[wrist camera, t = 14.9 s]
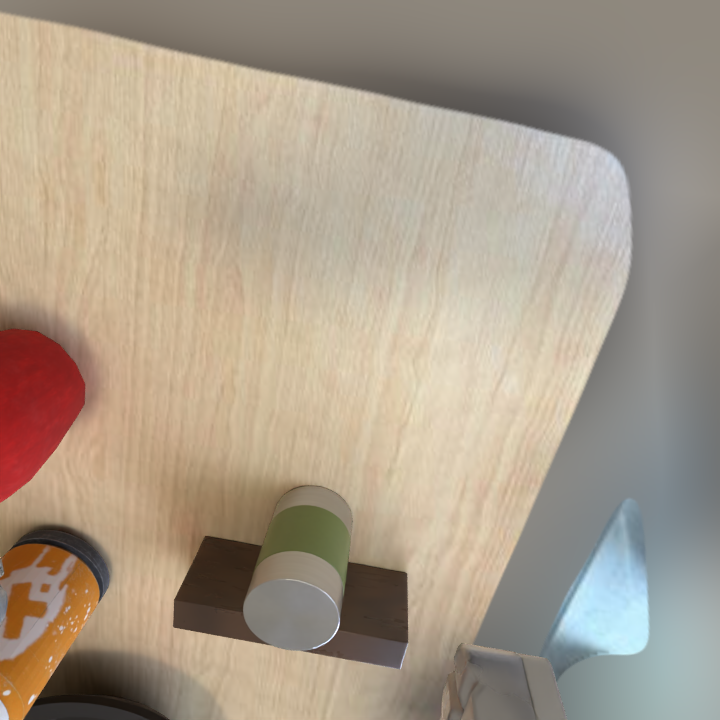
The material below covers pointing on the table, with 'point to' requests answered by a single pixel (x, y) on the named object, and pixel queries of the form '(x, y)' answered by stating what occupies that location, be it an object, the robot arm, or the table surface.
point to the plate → (90, 709)
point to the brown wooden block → (358, 613)
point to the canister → (44, 611)
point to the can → (301, 571)
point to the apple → (33, 404)
